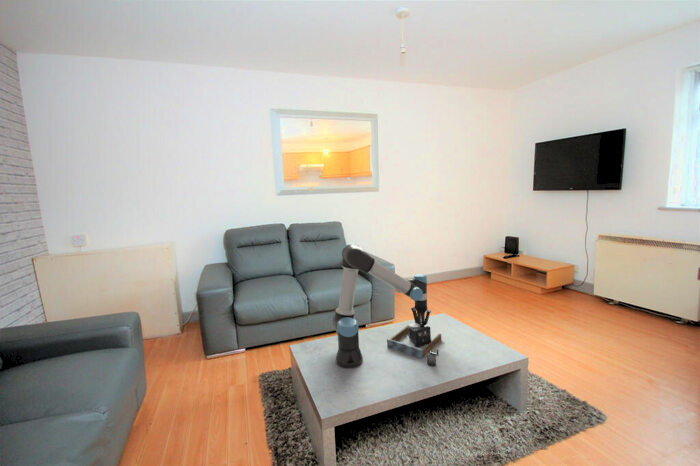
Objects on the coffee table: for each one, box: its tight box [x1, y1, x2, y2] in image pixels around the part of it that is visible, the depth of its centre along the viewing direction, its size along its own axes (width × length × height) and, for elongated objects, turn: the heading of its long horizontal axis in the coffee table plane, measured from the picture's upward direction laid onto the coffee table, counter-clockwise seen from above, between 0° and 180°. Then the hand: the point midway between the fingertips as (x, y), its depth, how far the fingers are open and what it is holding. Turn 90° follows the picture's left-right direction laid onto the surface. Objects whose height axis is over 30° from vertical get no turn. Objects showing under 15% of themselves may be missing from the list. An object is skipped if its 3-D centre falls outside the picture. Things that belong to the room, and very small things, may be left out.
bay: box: [386, 324, 442, 359], centre depth 194 cm, size 23×26×5 cm
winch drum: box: [426, 349, 440, 367], centre depth 170 cm, size 6×5×9 cm
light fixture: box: [407, 322, 432, 348], centre depth 196 cm, size 11×13×11 cm
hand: (421, 334), depth 201 cm, fingers closed
